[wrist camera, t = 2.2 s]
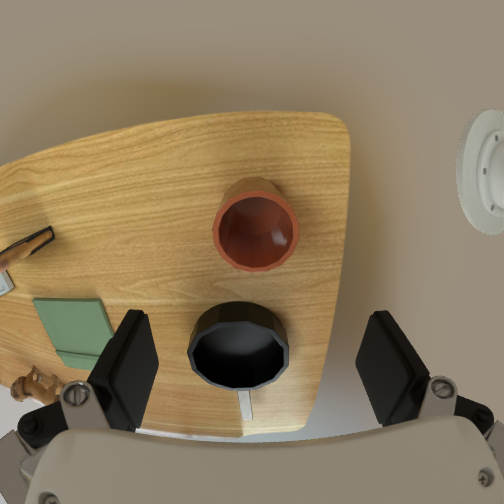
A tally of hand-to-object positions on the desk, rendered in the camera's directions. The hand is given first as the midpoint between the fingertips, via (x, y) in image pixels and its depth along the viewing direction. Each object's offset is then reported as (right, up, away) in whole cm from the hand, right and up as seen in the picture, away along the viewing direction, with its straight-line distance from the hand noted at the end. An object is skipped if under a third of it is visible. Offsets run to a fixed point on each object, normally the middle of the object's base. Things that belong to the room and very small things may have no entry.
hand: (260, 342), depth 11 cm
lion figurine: (-43, -22, +30) cm, 57 cm away
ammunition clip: (-31, +5, +18) cm, 36 cm away
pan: (-2, -11, +25) cm, 28 cm away
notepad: (-27, -9, +24) cm, 37 cm away
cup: (0, +8, +17) cm, 19 cm away
